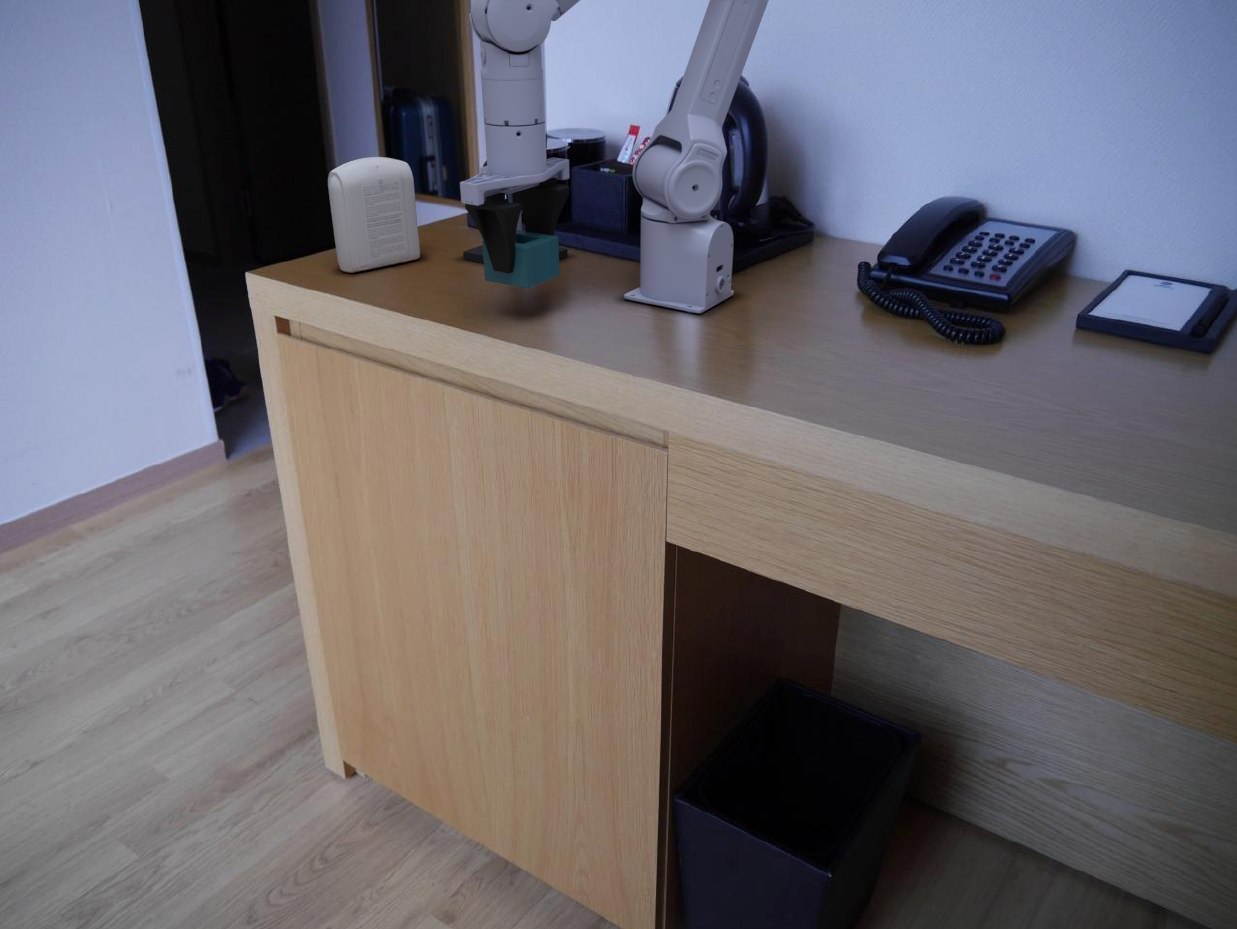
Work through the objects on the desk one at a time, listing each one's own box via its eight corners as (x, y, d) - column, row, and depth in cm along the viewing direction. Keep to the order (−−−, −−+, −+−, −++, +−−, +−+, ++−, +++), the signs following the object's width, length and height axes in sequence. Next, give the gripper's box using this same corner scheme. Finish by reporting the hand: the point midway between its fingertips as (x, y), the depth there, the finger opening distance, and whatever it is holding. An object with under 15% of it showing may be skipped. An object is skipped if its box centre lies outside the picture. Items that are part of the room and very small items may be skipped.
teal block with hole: (559, 275, 98) (558, 236, 96) (527, 288, 94) (525, 248, 92) (517, 267, 101) (515, 229, 99) (484, 280, 97) (481, 240, 95)
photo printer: (407, 252, 120) (396, 150, 114) (426, 259, 117) (416, 154, 112) (333, 269, 114) (317, 161, 108) (351, 276, 111) (337, 166, 105)
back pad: (567, 256, 119) (566, 207, 116) (528, 272, 113) (526, 220, 110) (504, 245, 123) (501, 197, 121) (463, 259, 117) (459, 210, 115)
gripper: (527, 109, 98) (533, 242, 104) (430, 128, 87) (443, 275, 93) (585, 115, 94) (587, 251, 101) (490, 135, 83) (500, 287, 90)
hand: (522, 263), depth 97 cm, fingers closed on teal block with hole, 5 cm apart
